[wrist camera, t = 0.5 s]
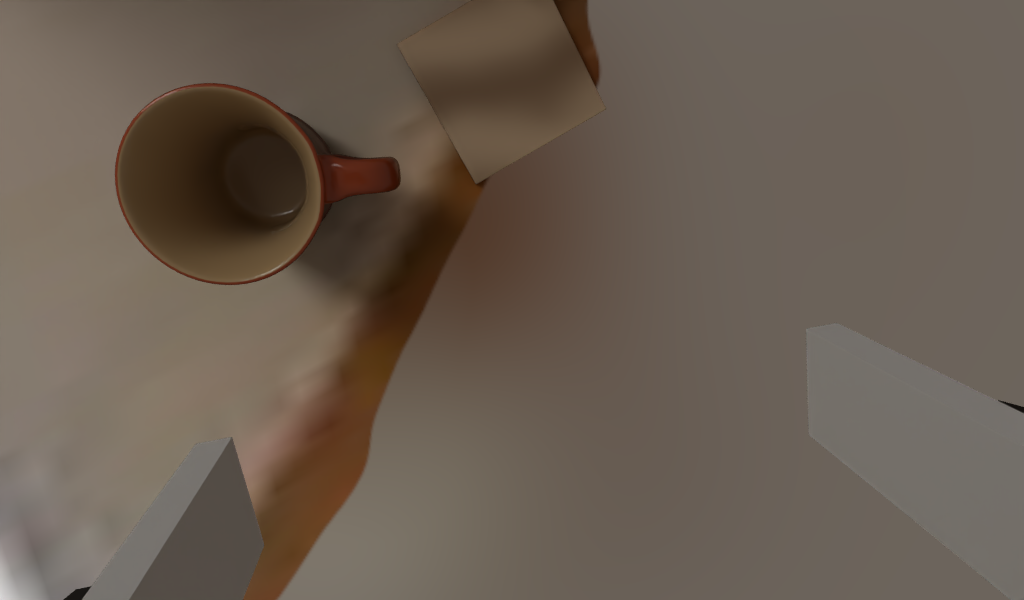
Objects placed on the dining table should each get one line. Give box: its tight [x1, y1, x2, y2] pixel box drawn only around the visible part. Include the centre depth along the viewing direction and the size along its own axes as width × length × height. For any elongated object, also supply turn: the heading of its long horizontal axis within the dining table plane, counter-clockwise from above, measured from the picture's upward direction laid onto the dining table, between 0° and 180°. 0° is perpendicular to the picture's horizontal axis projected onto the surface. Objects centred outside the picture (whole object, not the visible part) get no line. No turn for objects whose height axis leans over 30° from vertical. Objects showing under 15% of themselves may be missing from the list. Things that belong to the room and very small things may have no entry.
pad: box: [397, 0, 606, 184], centre depth 38 cm, size 9×9×1 cm
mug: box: [115, 83, 401, 285], centre depth 33 cm, size 12×9×10 cm
